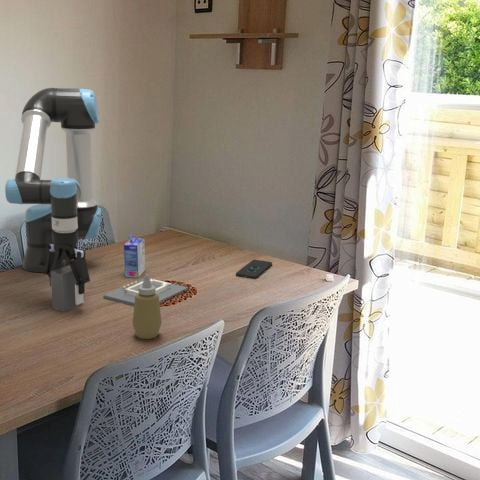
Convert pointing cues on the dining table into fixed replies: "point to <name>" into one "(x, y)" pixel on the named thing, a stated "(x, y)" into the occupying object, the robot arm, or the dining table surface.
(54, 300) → the keyed plug
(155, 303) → the squeeze bottle
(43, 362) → the dining table surface
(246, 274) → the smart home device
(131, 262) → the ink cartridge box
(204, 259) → the dining table surface
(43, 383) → the dining table surface
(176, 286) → the socket board
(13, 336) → the dining table surface
